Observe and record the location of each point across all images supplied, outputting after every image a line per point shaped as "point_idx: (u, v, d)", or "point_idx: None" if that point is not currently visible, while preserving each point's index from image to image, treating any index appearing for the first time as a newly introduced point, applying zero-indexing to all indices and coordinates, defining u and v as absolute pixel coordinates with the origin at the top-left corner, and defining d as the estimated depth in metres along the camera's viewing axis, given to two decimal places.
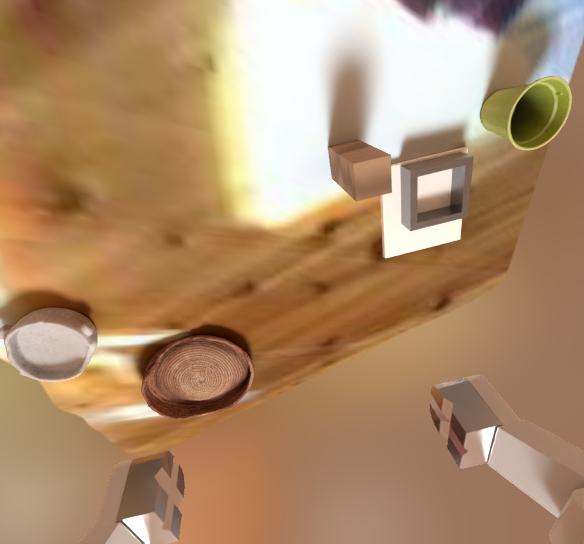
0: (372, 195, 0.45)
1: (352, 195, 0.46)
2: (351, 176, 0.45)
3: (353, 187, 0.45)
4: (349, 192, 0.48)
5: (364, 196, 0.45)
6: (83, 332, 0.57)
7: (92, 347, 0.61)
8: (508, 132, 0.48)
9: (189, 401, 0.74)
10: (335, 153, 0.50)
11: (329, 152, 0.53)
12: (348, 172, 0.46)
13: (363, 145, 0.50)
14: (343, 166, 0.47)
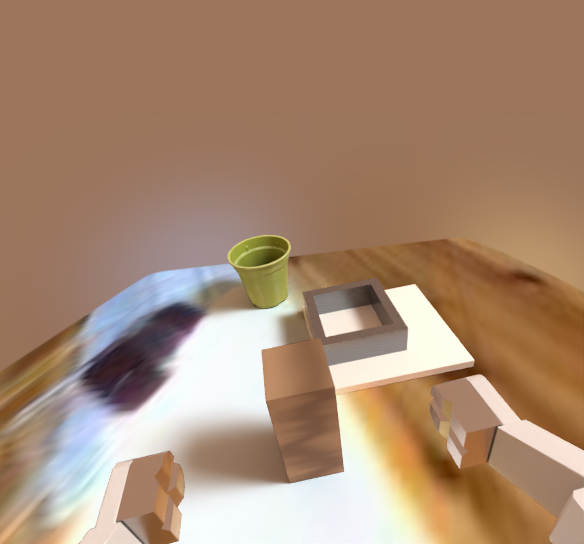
0: (324, 363, 0.26)
1: (330, 400, 0.25)
2: (294, 405, 0.25)
3: (310, 396, 0.24)
4: (332, 411, 0.26)
5: (326, 375, 0.25)
6: None
7: None
8: (270, 264, 0.46)
9: None
10: (285, 459, 0.28)
11: (297, 478, 0.30)
12: (293, 415, 0.25)
13: None
14: (292, 432, 0.27)
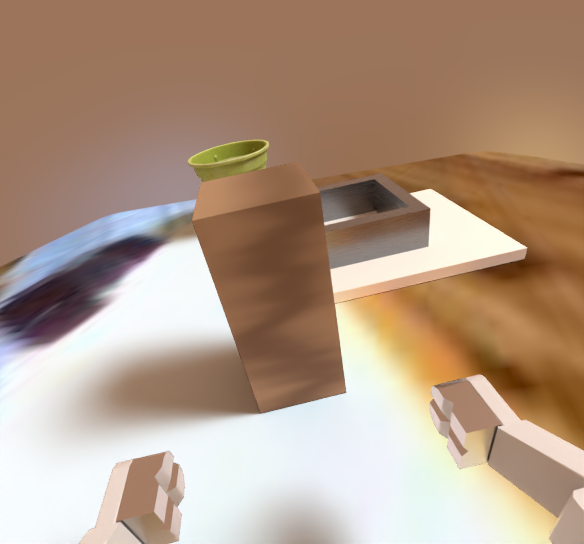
0: (302, 177, 0.15)
1: (314, 229, 0.14)
2: (248, 237, 0.14)
3: (276, 215, 0.13)
4: (319, 256, 0.14)
5: (304, 185, 0.14)
6: None
7: None
8: (241, 157, 0.35)
9: None
10: (247, 363, 0.17)
11: (271, 405, 0.19)
12: (249, 262, 0.14)
13: None
14: (253, 304, 0.15)
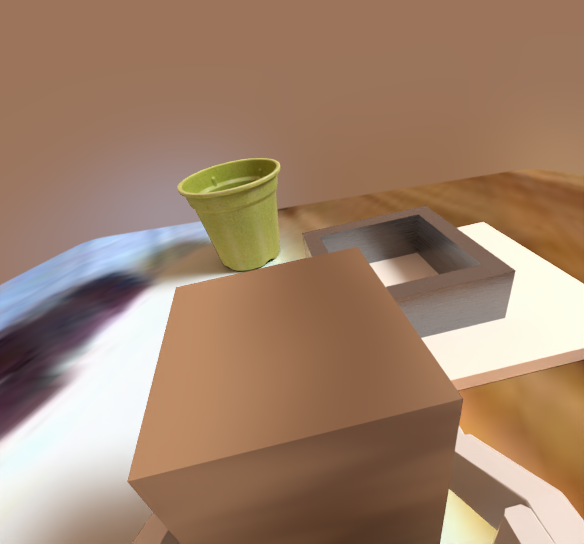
0: (385, 309, 0.07)
1: (431, 459, 0.06)
2: (274, 489, 0.06)
3: (347, 447, 0.05)
4: (428, 495, 0.07)
5: (404, 350, 0.06)
6: None
7: None
8: (245, 186, 0.27)
9: None
10: None
11: None
12: (273, 523, 0.06)
13: None
14: None
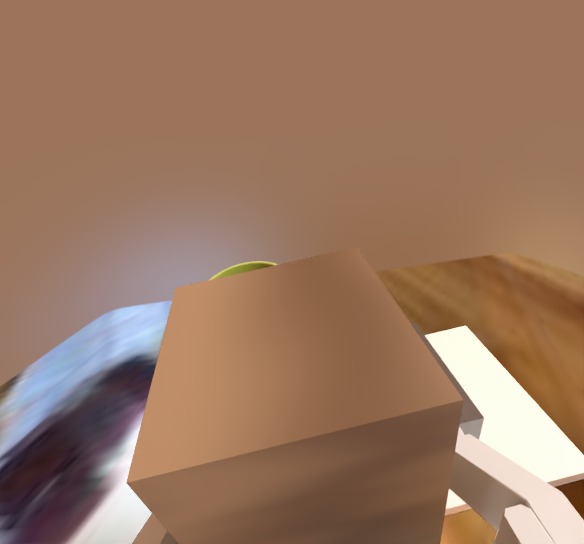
0: (385, 309, 0.07)
1: (431, 460, 0.06)
2: (274, 490, 0.06)
3: (347, 449, 0.05)
4: (428, 496, 0.06)
5: (405, 351, 0.06)
6: None
7: None
8: None
9: None
10: None
11: None
12: (272, 524, 0.06)
13: None
14: None
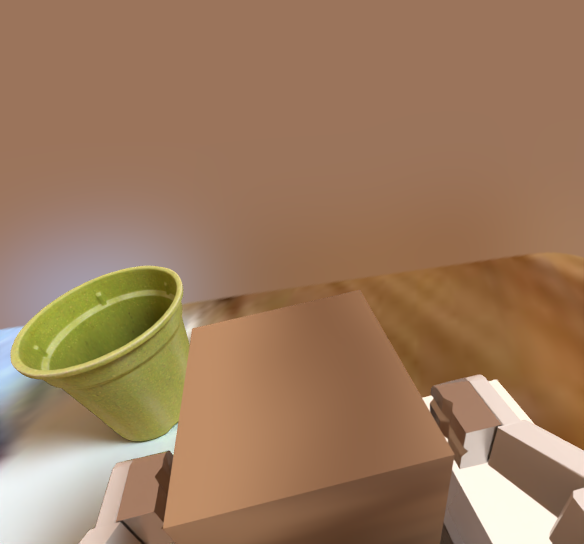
0: (386, 359, 0.08)
1: (427, 501, 0.07)
2: (288, 530, 0.06)
3: (353, 496, 0.06)
4: (425, 529, 0.07)
5: (403, 403, 0.07)
6: None
7: None
8: (100, 361, 0.16)
9: None
10: None
11: None
12: None
13: None
14: None
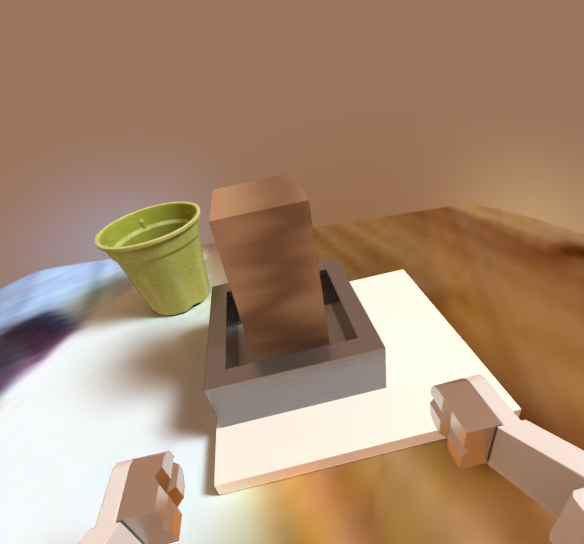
0: (295, 186, 0.19)
1: (304, 228, 0.18)
2: (252, 234, 0.17)
3: (274, 217, 0.17)
4: (308, 250, 0.18)
5: (297, 194, 0.18)
6: None
7: None
8: (154, 241, 0.27)
9: None
10: (250, 339, 0.21)
11: None
12: (252, 255, 0.18)
13: None
14: (255, 288, 0.19)
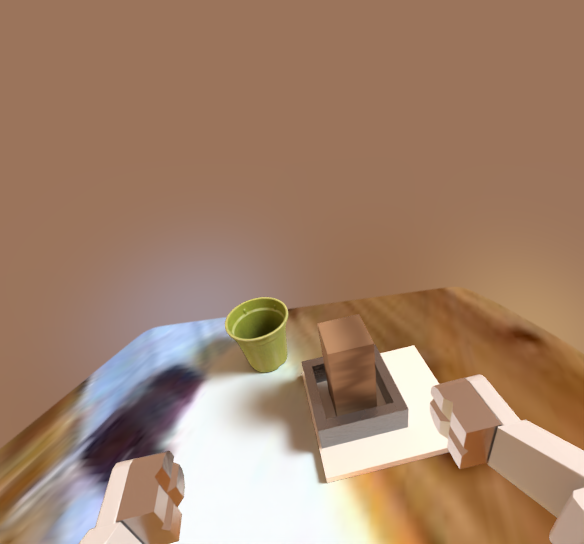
0: (364, 329, 0.37)
1: (370, 354, 0.36)
2: (346, 358, 0.36)
3: (357, 351, 0.36)
4: (371, 362, 0.37)
5: (366, 337, 0.36)
6: None
7: None
8: (268, 335, 0.46)
9: None
10: (336, 401, 0.40)
11: None
12: (344, 366, 0.37)
13: (326, 373, 0.43)
14: (343, 379, 0.38)
